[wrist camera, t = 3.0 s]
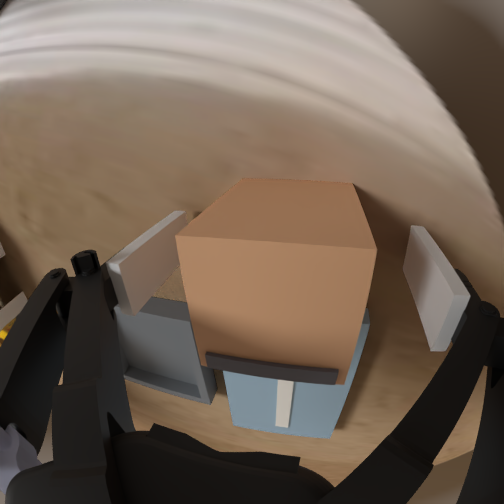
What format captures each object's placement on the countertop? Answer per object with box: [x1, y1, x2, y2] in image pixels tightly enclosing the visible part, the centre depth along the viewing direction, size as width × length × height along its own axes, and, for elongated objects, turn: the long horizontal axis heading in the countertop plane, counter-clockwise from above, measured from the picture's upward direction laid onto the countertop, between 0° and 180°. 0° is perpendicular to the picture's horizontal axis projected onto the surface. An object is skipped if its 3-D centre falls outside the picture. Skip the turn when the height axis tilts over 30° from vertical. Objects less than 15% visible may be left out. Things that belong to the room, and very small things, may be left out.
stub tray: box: [114, 297, 217, 405], centre depth 23 cm, size 11×11×2 cm
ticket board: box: [223, 308, 370, 438], centre depth 21 cm, size 16×10×2 cm, turn 2°
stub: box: [175, 178, 377, 385], centre depth 13 cm, size 6×6×8 cm
